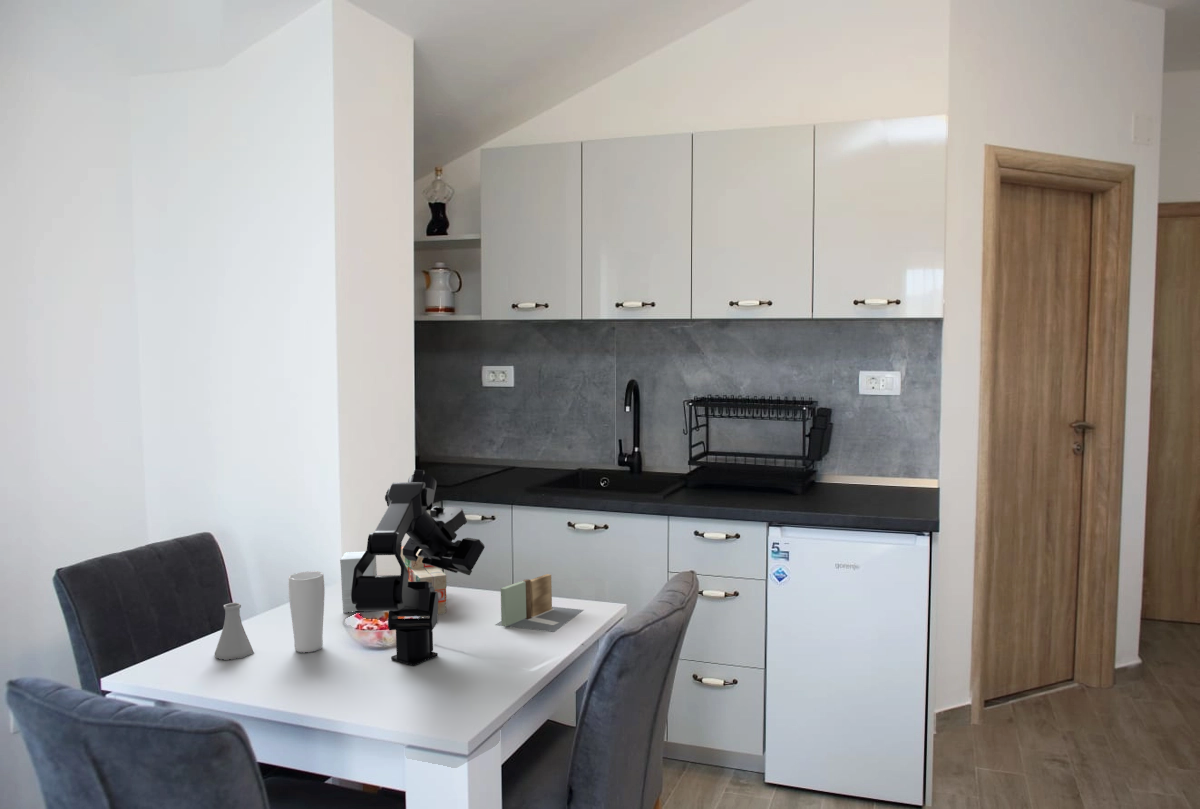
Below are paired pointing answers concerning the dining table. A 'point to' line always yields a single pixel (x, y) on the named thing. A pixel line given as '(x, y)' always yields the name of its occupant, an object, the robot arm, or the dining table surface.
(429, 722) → the dining table surface
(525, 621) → the board
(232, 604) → the flask
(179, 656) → the dining table surface
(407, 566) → the stack of blocks
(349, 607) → the supplement box
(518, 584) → the fence hinged panel
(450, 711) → the dining table surface
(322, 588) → the drinking glass
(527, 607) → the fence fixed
